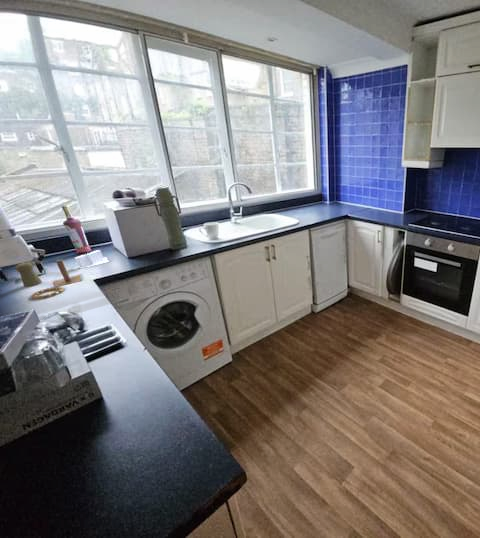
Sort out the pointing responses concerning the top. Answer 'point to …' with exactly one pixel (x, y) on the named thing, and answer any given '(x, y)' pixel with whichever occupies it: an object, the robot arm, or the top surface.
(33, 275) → the cork
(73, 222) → the liquor
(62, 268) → the stand
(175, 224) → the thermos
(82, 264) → the napkin holder
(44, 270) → the syrup box
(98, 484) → the top surface
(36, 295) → the brass hoop
